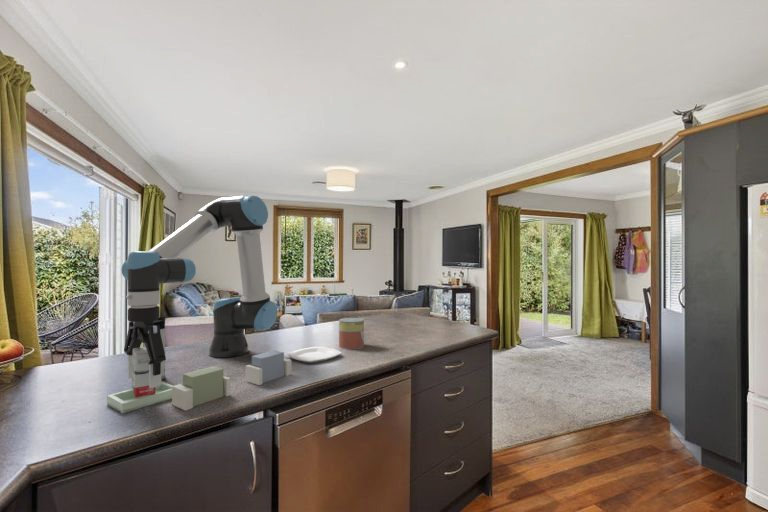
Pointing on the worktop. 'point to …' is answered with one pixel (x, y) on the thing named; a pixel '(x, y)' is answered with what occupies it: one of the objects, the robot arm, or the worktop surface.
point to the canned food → (351, 333)
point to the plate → (314, 354)
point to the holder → (184, 395)
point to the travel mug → (162, 331)
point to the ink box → (141, 373)
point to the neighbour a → (205, 384)
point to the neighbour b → (270, 364)
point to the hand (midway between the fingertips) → (144, 381)
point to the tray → (139, 398)
